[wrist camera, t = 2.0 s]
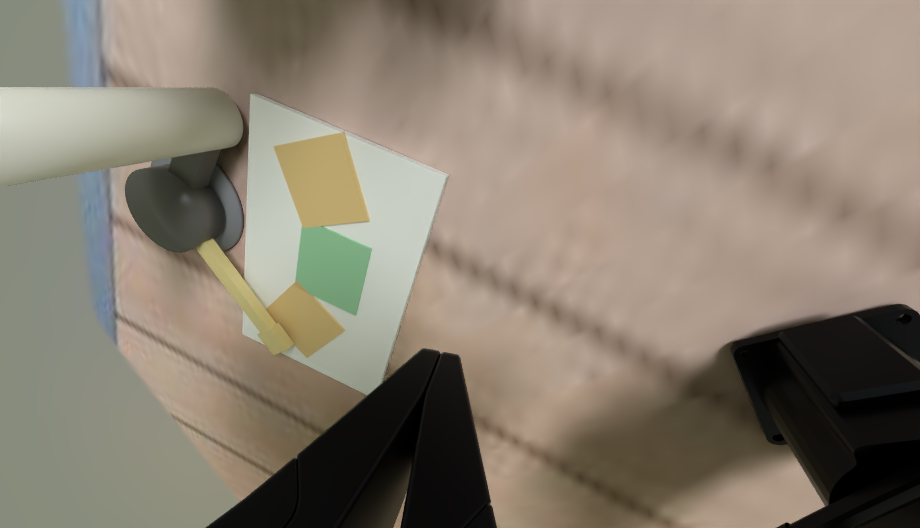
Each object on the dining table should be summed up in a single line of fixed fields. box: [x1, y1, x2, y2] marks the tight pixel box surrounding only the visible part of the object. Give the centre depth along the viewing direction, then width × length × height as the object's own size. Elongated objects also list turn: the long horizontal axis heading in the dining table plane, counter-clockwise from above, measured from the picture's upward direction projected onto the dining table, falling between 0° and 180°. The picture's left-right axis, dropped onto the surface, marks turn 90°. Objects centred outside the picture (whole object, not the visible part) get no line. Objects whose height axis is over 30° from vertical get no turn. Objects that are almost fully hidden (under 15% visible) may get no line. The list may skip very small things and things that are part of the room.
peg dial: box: [0, 87, 294, 355], centre depth 17 cm, size 11×15×12 cm
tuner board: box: [151, 94, 449, 395], centre depth 23 cm, size 18×17×1 cm
